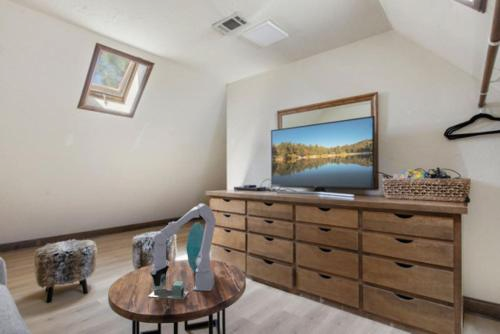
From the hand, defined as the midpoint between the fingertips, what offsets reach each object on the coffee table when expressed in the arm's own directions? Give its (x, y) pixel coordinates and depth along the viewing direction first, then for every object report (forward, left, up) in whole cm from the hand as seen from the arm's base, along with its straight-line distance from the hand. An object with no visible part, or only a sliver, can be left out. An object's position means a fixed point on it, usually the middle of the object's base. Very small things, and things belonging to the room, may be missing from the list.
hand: (159, 283), depth 130 cm
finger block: (0, 0, -2) cm, 2 cm away
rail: (-5, 0, -5) cm, 7 cm away
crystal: (-10, -31, -6) cm, 33 cm away
